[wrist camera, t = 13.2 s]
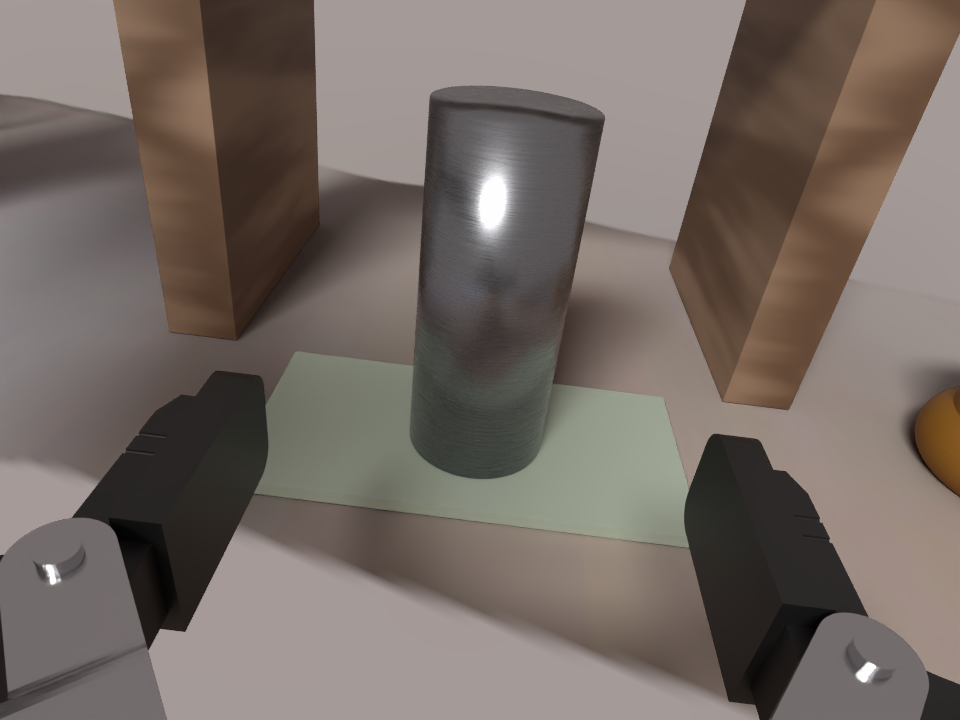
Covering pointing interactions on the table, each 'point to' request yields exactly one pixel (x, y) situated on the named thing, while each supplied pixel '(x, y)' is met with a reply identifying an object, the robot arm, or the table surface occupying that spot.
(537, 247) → the canister
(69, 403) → the table surface
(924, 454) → the ornamental finial
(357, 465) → the mat
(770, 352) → the shelf
